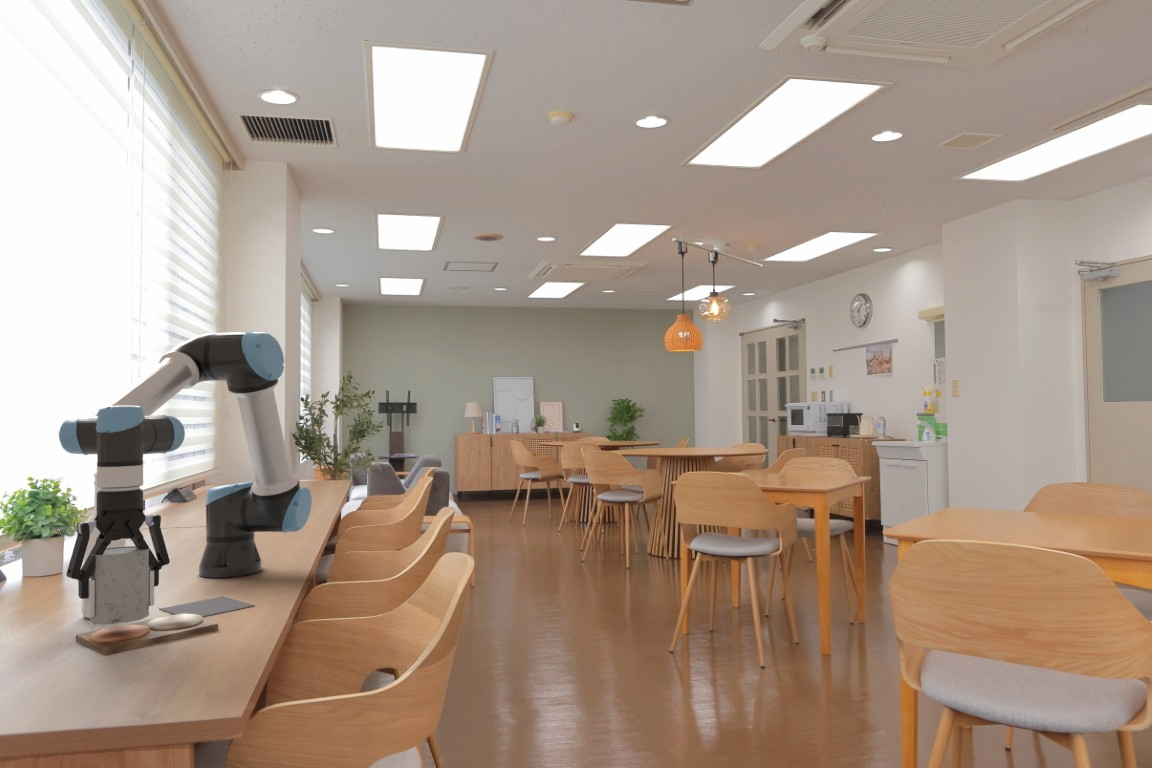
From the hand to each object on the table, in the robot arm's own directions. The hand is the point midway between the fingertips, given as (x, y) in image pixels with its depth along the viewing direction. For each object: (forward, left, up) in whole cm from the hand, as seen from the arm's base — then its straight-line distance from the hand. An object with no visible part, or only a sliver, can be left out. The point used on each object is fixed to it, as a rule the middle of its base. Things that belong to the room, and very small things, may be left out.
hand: (119, 610), depth 148 cm
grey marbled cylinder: (0, 0, -2) cm, 2 cm away
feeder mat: (-22, -12, -6) cm, 26 cm away
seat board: (-5, 0, -6) cm, 8 cm away
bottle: (-6, -24, -6) cm, 25 cm away
